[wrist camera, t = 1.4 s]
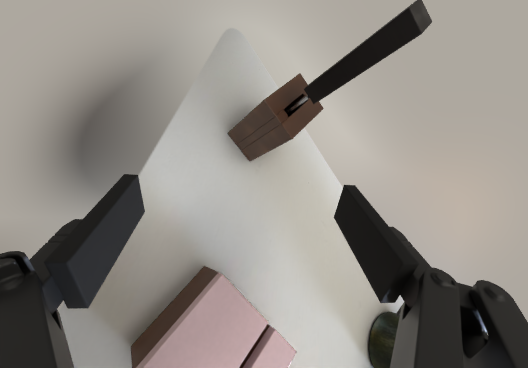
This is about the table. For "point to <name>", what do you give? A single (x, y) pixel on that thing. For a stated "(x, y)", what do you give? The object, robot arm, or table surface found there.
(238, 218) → the table surface
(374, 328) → the mug
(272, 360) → the cake slice
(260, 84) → the table surface
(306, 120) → the knife block
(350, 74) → the knife
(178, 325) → the cake
